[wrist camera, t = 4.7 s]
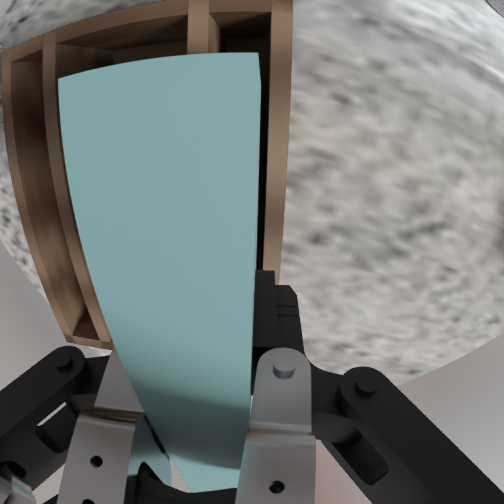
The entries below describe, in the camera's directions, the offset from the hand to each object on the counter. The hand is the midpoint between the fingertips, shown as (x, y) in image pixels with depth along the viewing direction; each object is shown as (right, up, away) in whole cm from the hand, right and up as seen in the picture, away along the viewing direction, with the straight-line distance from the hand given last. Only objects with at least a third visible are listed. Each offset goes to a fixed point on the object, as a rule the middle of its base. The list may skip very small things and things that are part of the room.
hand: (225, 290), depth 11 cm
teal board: (0, +7, +12) cm, 14 cm away
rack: (-6, +8, +14) cm, 17 cm away
